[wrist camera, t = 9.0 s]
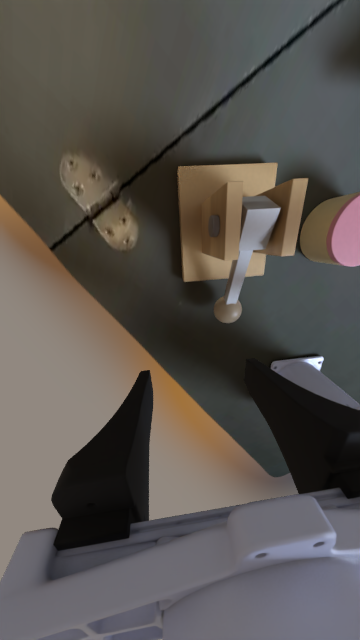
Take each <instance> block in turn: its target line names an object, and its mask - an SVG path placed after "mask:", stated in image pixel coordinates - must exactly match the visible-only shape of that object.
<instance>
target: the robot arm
mask: <svg viewBox="0 0 360 640" xmlns="http://www.w3.org/2000/svg"><path fill="white" fill-rule="evenodd" d="M323 359H324V358H323V357H322V356H313V357H305V358H296V359H288V360H279V361H273V362H272V364H271V368H269V367H267V366H266V365H264V364H263V363H261V362H260V361H258V360H256V359H255V358H252V359H246V367H245V376H244V381H245V384H246V386H247V388H248V391H249V393H250V395H251V396H252V398H253V400H254V401H255V403H256V405H257V406H258V408H259V410H260V411H261V413H262V415H263V416H264V418H265V420H266V421H267V423H268V425H269V427H270V429H271V431H272V433H273V435H274V437H275V439H276V441H277V443H278V446H279V448H280V450H281V452H282V454H283V457H284V459H285V461H286V464H287V466H288V468H289V471H290V473H291V475H292V478H293V480H294V483H295V485H296V488H297V490H298V493H299V494H296V495H290V496H284V497H279V498H273V499H267V500H261V501H255V502H250V503H247V504H242V505H236V506H230V507H225V508H219V509H213V510H207V511H201V512H196V513H190V514H184V515H179V516H173V517H167V518H161V519H155V520H150V521H149V440H150V430H151V421H152V411H153V388H152V382H151V375H150V370H147V371H141V372H140V373H139V376H138V378H137V380H136V382H135V384H134V386H133V387H132V389H131V391H130V393H129V394H128V396H127V397H126V399H125V400H124V402H123V404H122V405H121V406H120V408H119V409H118V410H117V412H116V413H115V414H114V416H113V417H112V418H111V419H110V420H109V422H108V423H107V424H106V425H105V426H104V427H103V428H102V429H101V431H100V432H99V433H98V434H97V435H96V436H95V437H94V438H93V439H92V440H91V441H90V442H89V443H88V444H87V445H85V446H84V447H83V448H82V449H81V450H80V451H79V452H78V453H76V454H75V455H74V456H73V457H72V458H70V459H69V460H68V462H67V464H66V466H65V467H64V469H63V471H62V473H61V476H60V478H59V480H58V482H57V485H56V487H55V490H54V492H53V494H52V499H51V501H52V503H53V506H54V507H55V509H56V510H57V511H58V513H59V514H60V516H61V517H62V521H61V524H60V527H59V530H58V529H56V528H46V529H40V530H34V531H29V532H25V533H24V534H22V536H21V538H20V540H19V543H18V545H17V547H16V549H15V551H14V553H13V555H12V558H11V560H10V562H9V564H8V566H7V569H6V571H5V573H4V575H3V577H2V579H1V582H0V640H158V639H163V640H360V404H359V403H358V402H356V401H355V400H354V399H353V398H352V397H350V396H349V395H348V394H347V393H346V392H344V391H343V390H342V389H341V388H339V387H338V386H337V385H336V384H335V383H333V382H332V381H331V380H330V379H329V378H327V377H326V376H325V375H324V374H322V373H321V372H320V369H321V365H322V362H323Z"/></svg>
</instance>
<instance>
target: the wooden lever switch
mask: <svg viewBox="0 0 360 640" xmlns="http://www.w3.org/2000/svg"><path fill="white" fill-rule="evenodd" d="M277 164H278V163H255V164H229V165H203V166H179V167H178V169H177V183H178V201H179V220H180V238H181V257H182V275H183V281H184V282H189V281H201V280H213V279H225V278H229V273H230V269H231V265H232V261H233V260H238V256H239V241H240V226H241V212H242V197H249V196H266V197H267V198H269V199H270V200H271V201H273V202H274V203H275V204H277V205H278V206H279V207H281V209H280V212H279V214H278V217H277V220H276V222H275V225H274V228H273V231H272V233H271V236H270V239H269V241H268V244H267V247H266V249H262V250H253V252H252V255H251V259H250V262H249V265H248V268H247V271H246V274H245V277H249V276H261V275H264V267H265V259H266V254H268V255H275V256H293V255H294V253H295V247H296V242H297V237H298V231H299V226H300V221H301V215H302V210H303V204H304V199H305V194H306V188H307V183H308V178H295V179H291V180H289V181H287V182H285V183H283V184H280V185H278V186H276V187H275V180H276V172H277Z"/></svg>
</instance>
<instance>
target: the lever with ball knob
mask: <svg viewBox="0 0 360 640" xmlns="http://www.w3.org/2000/svg"><path fill="white" fill-rule="evenodd" d="M280 209H281V207H279V206H278V205H277V204H275V203H274V202H273V201H271V200H270V199H269V198H267V197H266V196H249V197H242V212H241V226H240V241H239V256H238V260H233V261H232V265H231V269H230V273H229V278H228V282H227V286H226V290H225V295H224V296H223V297H221V298H219V299H218V300H217V301H216V303H215V305H214V314H215V316H216V318H217V319H218V320H219V321H221V322H223V323H232V322H234V321H236V320H237V319H238V318H239V317H240V315H241V312H242V306H241V303H240V302H239V301H238V296H239V293H240V290H241V287H242V284H243V281H244V277H245V274H246V271H247V268H248V265H249V262H250V259H251V255H252V252H253V250H262V249H266V247H267V244H268V241H269V239H270V236H271V233H272V231H273V228H274V225H275V222H276V220H277V217H278V214H279V212H280Z"/></svg>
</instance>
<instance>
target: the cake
mask: <svg viewBox="0 0 360 640" xmlns="http://www.w3.org/2000/svg"><path fill="white" fill-rule="evenodd" d="M300 247H301V250H302V252H303V254H304V255H305V256H306V257H307V258H308V259H309V260H311V261H315V262H322V263H329V264H336V265H343V266H359V265H360V192H357V193H353V194H349V195H344V196H340V197H336V198H332V199H328V200H326V201H324V202H322V203H321V204H319V205H318V206H317V207H316V208H315V209H313V211H312V212H311V213H310V214H309V215H308V217H307V218H306V220H305V222H304V224H303V227H302V229H301V233H300Z"/></svg>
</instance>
